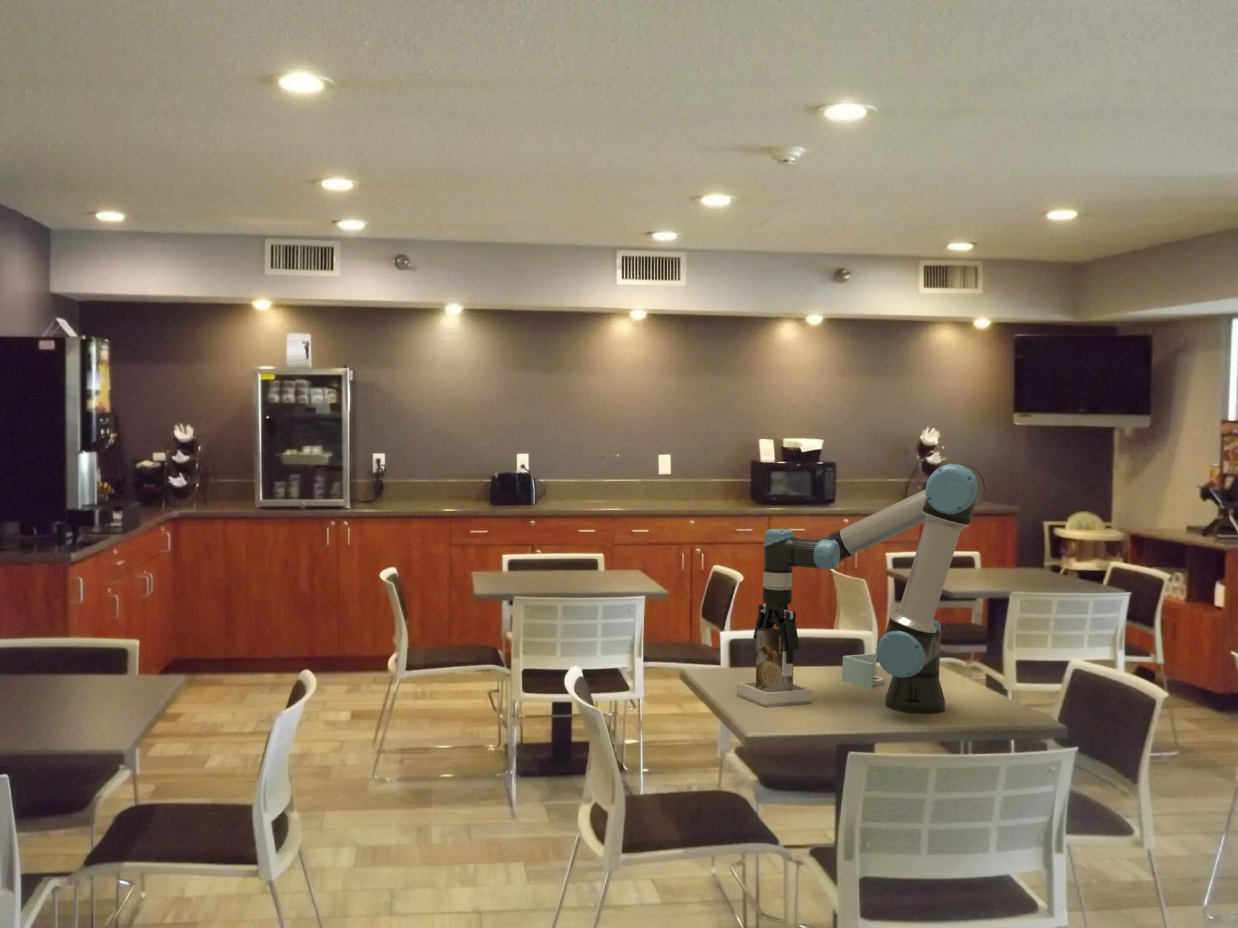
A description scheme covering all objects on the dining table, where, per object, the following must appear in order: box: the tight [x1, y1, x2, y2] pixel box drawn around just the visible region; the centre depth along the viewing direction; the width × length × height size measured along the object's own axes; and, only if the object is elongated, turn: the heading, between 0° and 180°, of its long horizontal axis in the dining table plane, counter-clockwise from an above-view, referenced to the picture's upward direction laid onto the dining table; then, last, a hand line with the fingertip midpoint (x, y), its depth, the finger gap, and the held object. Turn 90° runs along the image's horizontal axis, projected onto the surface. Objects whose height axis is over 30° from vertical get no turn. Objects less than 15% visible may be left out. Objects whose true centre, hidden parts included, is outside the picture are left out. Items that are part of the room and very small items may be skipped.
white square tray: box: [736, 680, 813, 708], centre depth 298 cm, size 14×14×4 cm
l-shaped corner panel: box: [841, 652, 885, 690], centre depth 323 cm, size 12×12×8 cm
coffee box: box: [755, 627, 795, 692], centre depth 298 cm, size 9×6×16 cm
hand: (774, 671), depth 298 cm, fingers closed on coffee box, 11 cm apart
